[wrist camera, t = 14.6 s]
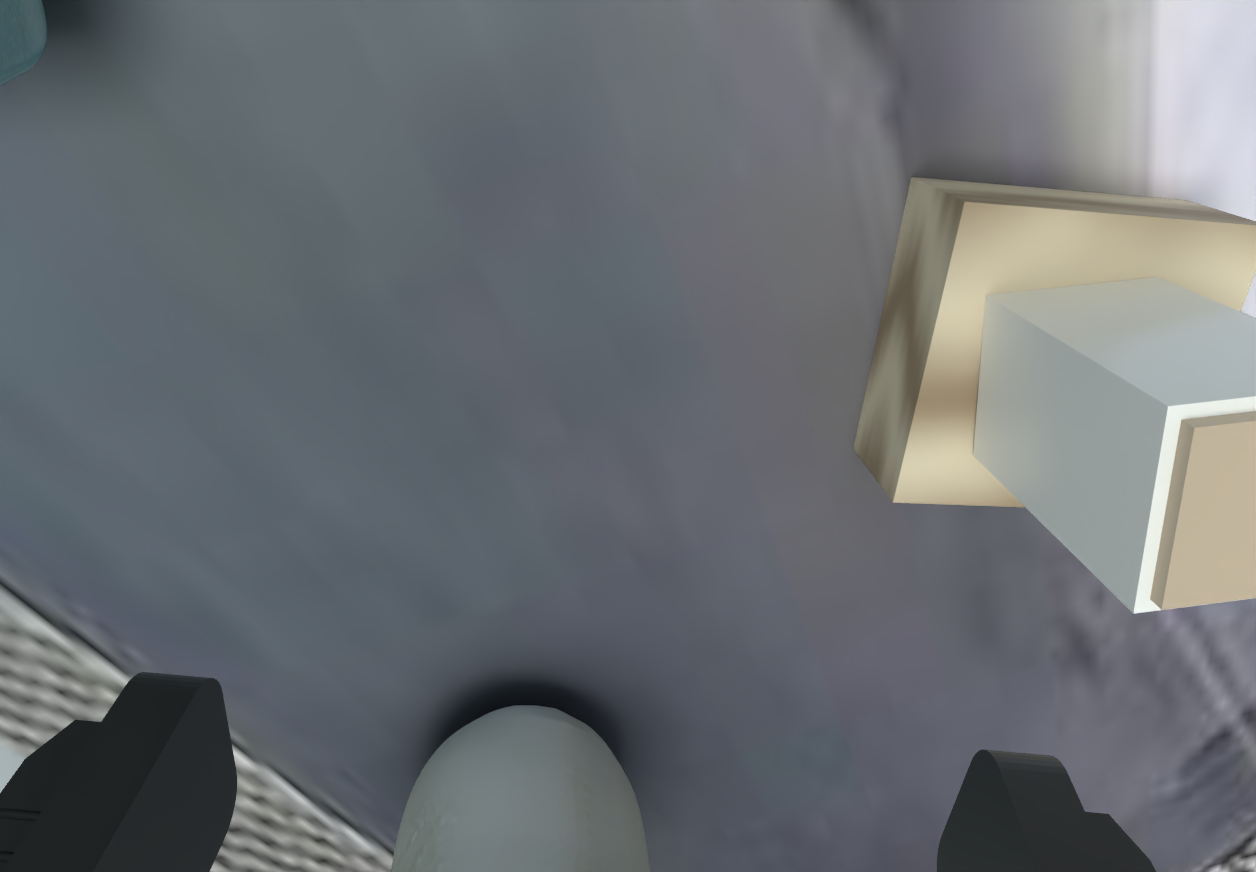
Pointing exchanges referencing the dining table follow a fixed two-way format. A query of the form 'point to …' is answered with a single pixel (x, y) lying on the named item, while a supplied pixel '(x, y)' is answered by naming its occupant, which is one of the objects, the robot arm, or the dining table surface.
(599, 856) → the glass bottle
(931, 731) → the dining table surface
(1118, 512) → the white square container
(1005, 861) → the robot arm
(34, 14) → the flower pot
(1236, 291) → the pale gold metal block
